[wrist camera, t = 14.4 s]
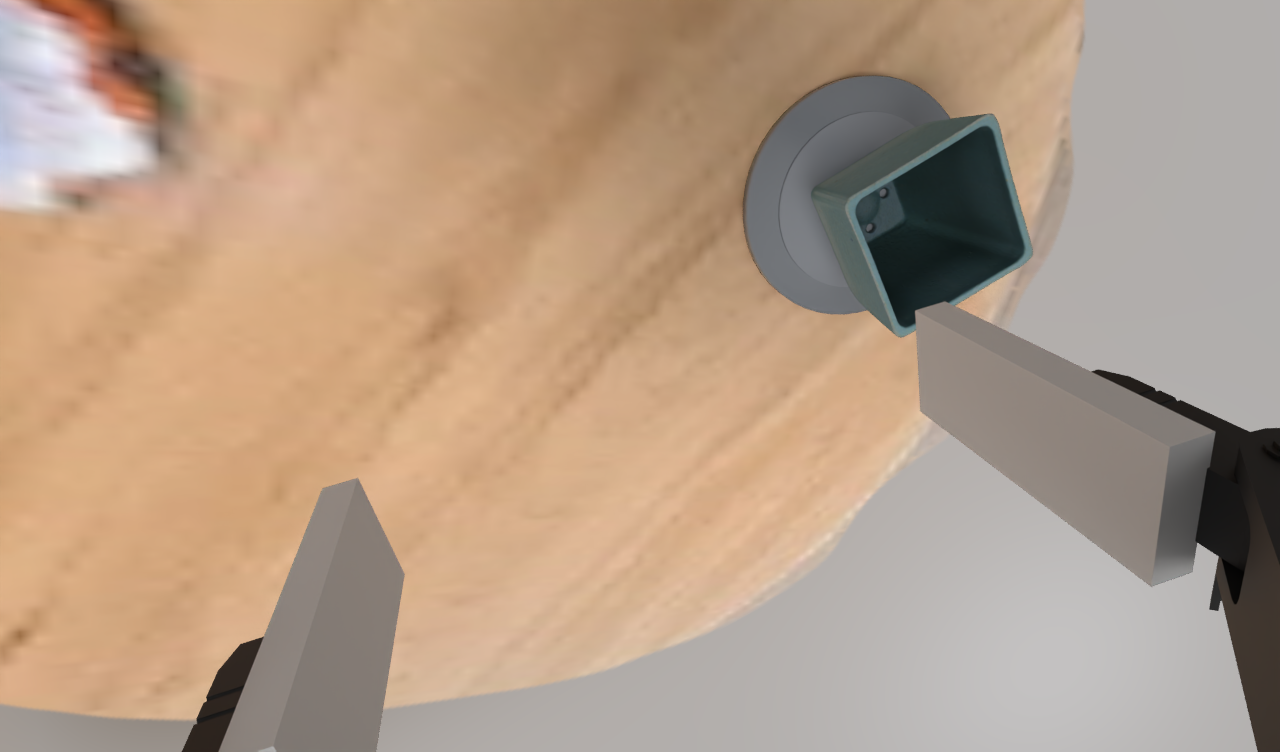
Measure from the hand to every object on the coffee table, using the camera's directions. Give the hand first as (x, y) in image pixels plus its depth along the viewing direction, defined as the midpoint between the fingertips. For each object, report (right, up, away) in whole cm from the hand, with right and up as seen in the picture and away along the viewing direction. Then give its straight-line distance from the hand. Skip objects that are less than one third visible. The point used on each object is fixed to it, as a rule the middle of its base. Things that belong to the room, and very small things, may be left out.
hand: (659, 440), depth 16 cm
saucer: (+13, +13, +29) cm, 35 cm away
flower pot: (+14, +13, +28) cm, 34 cm away
